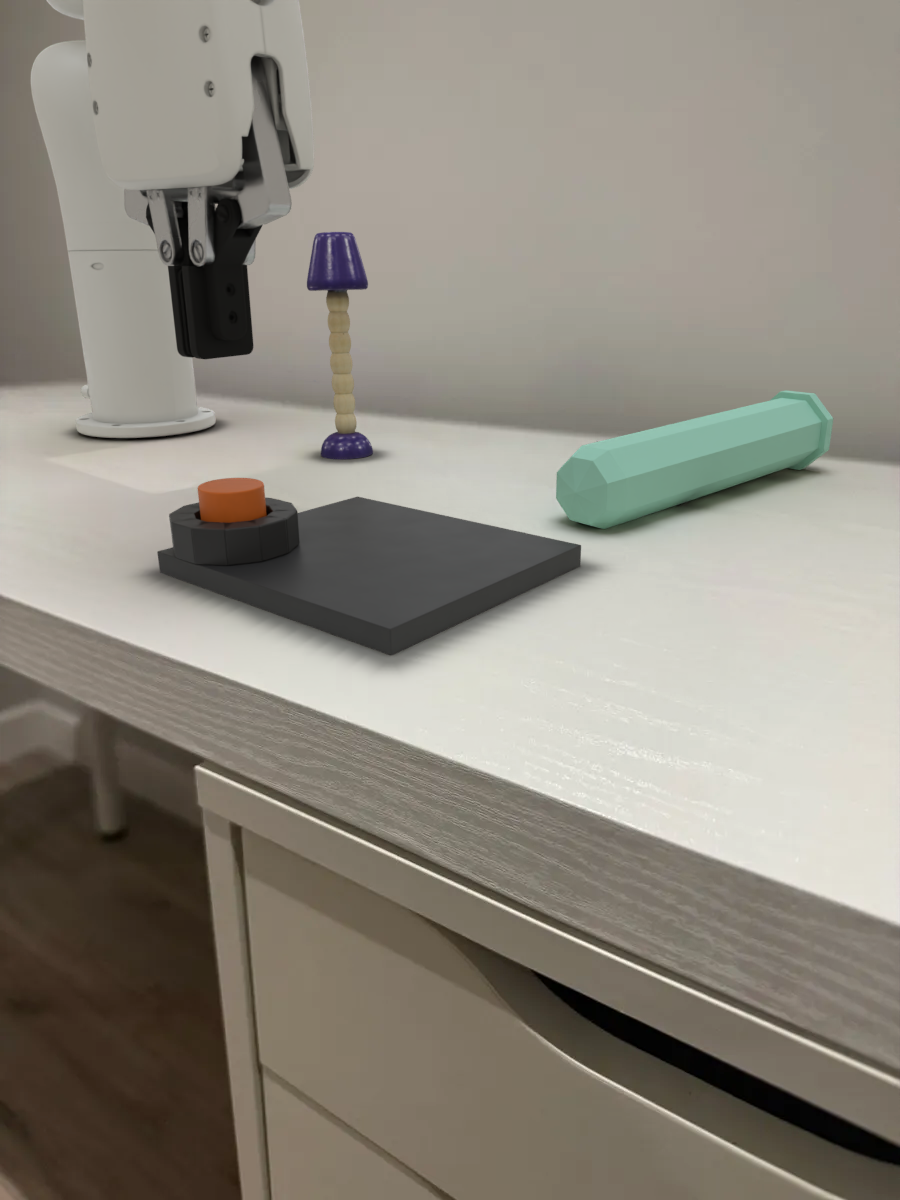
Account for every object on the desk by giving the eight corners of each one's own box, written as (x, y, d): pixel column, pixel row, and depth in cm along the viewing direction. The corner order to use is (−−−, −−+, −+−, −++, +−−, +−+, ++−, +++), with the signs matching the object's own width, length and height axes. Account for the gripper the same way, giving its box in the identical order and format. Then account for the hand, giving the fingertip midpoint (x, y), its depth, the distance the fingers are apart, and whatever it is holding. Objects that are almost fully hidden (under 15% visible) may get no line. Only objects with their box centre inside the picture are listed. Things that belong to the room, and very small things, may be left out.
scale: (152, 571, 45) (144, 514, 43) (352, 513, 55) (349, 465, 54) (390, 657, 35) (387, 586, 34) (580, 567, 45) (583, 510, 44)
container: (600, 428, 47) (823, 378, 63) (525, 454, 52) (750, 401, 67) (628, 534, 48) (843, 458, 63) (552, 551, 52) (769, 476, 68)
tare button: (188, 520, 44) (183, 486, 43) (240, 507, 46) (237, 474, 45) (227, 531, 42) (224, 496, 41) (279, 517, 44) (277, 483, 44)
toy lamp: (305, 454, 72) (290, 232, 66) (349, 446, 75) (338, 233, 69) (344, 462, 69) (332, 230, 63) (387, 453, 72) (380, 231, 66)
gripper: (372, -143, 33) (385, 361, 40) (147, -62, 42) (190, 338, 49) (205, -217, 28) (253, 379, 35) (-13, -106, 37) (61, 350, 43)
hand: (216, 354), depth 42 cm, fingers closed
